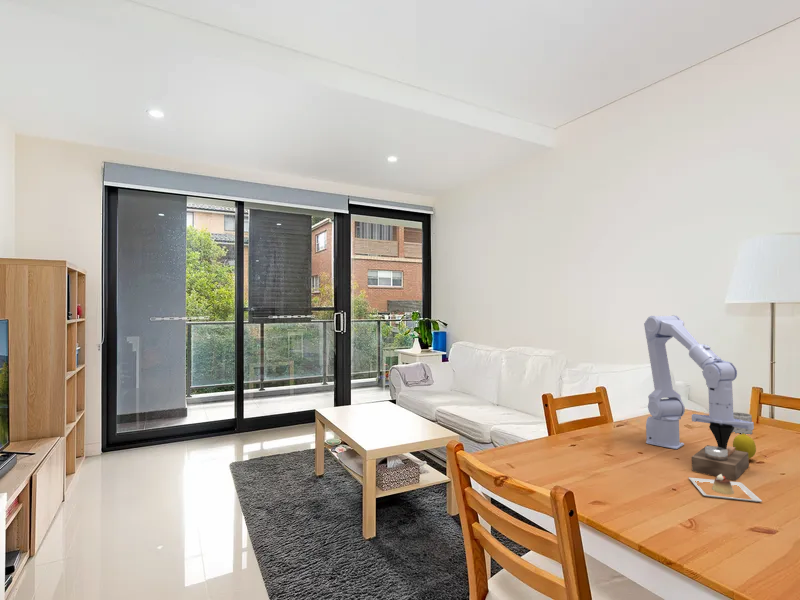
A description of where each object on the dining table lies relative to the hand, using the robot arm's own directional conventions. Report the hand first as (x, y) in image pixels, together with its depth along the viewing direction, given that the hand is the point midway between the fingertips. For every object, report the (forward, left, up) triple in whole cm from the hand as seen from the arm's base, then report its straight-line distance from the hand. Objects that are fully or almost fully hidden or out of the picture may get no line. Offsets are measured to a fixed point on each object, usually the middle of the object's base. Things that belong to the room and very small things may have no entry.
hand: (722, 450), depth 126 cm
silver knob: (0, -6, -4) cm, 8 cm away
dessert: (+4, -20, -6) cm, 22 cm away
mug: (-6, +50, -5) cm, 50 cm away
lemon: (+3, +12, -5) cm, 13 cm away
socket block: (0, -2, -5) cm, 5 cm away
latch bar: (0, +2, -1) cm, 2 cm away
